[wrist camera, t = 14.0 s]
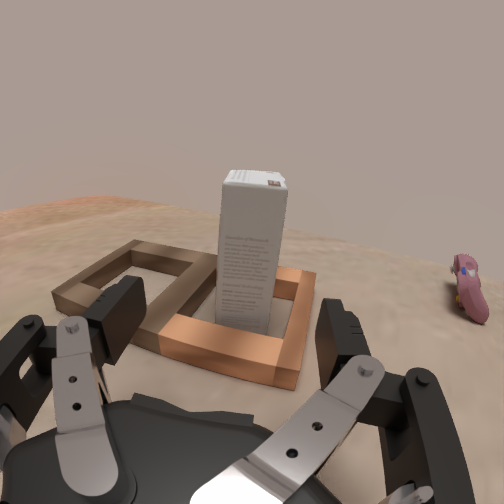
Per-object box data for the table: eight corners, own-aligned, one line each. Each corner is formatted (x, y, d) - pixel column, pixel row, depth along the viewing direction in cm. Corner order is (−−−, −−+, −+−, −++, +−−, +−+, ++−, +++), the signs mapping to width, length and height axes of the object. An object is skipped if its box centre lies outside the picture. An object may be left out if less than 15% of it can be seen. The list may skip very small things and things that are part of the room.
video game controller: (452, 294, 33) (447, 248, 32) (480, 289, 30) (476, 242, 29) (454, 331, 25) (451, 274, 24) (489, 325, 22) (489, 267, 21)
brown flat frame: (56, 309, 22) (51, 291, 21) (135, 254, 34) (134, 239, 33) (294, 390, 17) (299, 370, 16) (313, 289, 30) (316, 272, 29)
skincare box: (221, 296, 27) (225, 167, 22) (267, 299, 27) (281, 171, 23) (213, 338, 22) (215, 179, 17) (270, 342, 22) (290, 184, 17)
